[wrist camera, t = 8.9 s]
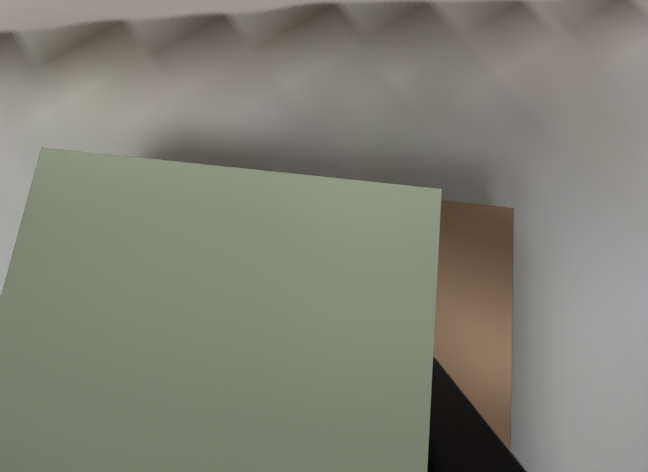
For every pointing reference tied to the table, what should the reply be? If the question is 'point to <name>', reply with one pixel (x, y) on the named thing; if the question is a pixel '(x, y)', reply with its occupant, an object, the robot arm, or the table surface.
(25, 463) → the pillar block
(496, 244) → the base board
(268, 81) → the table surface
